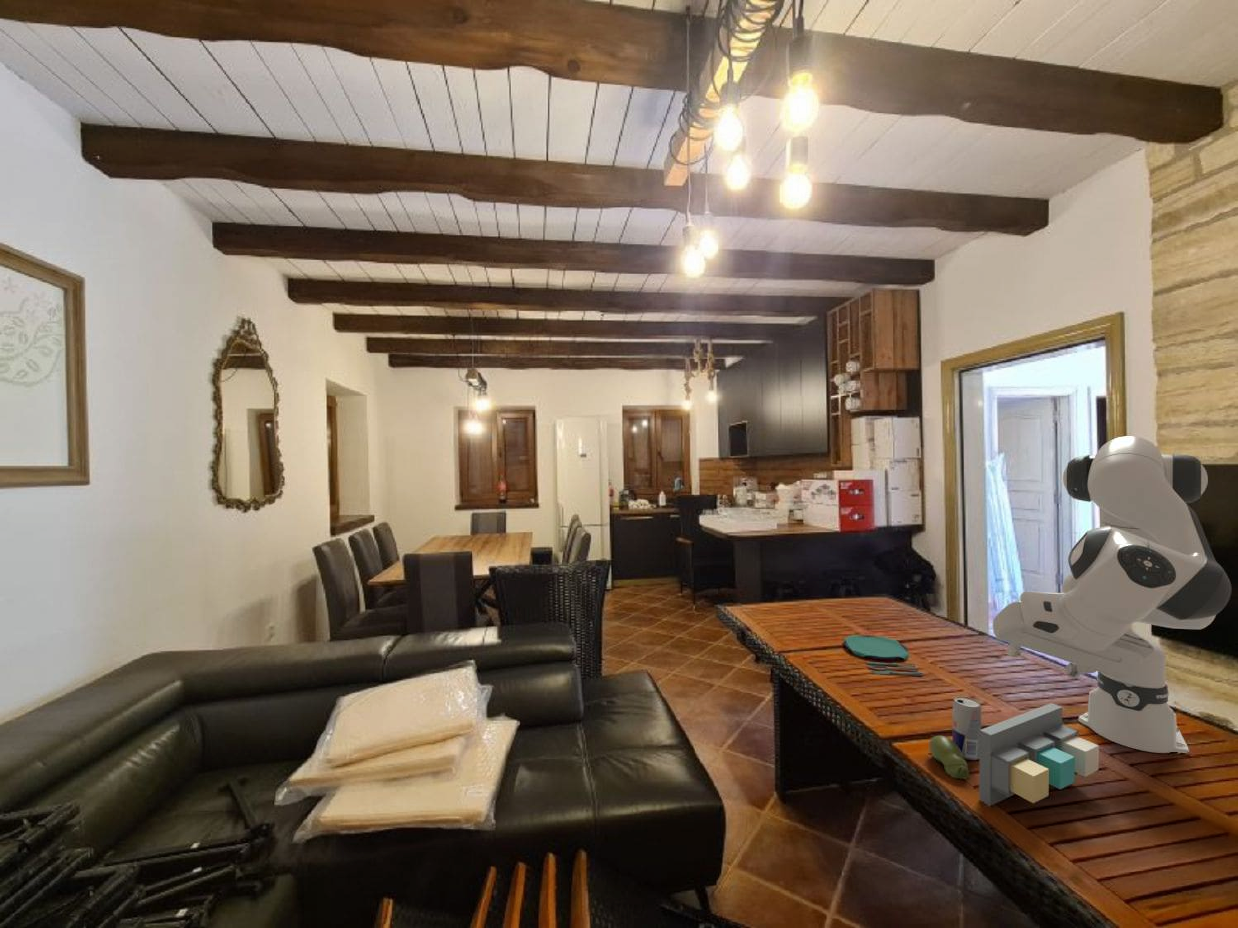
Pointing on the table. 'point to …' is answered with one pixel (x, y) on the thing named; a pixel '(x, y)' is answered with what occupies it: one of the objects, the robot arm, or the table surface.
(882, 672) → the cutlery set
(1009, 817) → the table surface
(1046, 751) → the button teal
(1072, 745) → the button cream
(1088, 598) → the robot arm
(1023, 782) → the button mustard
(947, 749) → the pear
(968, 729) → the energy drink
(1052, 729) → the control panel
